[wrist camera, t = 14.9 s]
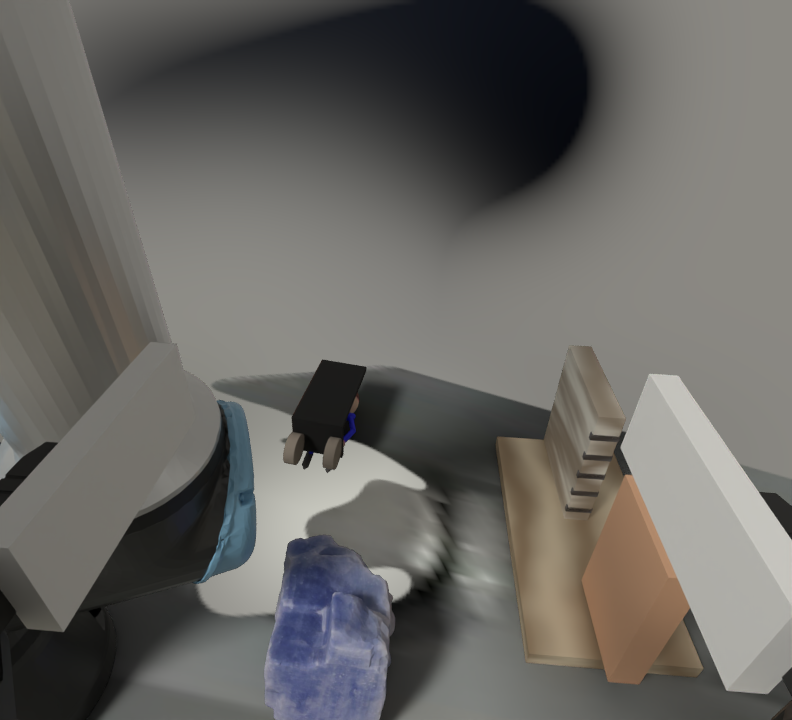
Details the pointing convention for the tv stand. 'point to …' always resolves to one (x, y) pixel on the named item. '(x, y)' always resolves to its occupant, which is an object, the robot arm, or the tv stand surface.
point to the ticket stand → (569, 520)
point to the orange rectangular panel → (631, 589)
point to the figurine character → (325, 414)
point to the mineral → (328, 636)
